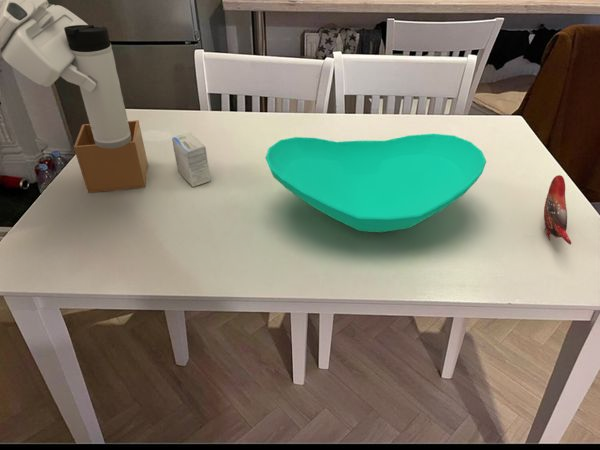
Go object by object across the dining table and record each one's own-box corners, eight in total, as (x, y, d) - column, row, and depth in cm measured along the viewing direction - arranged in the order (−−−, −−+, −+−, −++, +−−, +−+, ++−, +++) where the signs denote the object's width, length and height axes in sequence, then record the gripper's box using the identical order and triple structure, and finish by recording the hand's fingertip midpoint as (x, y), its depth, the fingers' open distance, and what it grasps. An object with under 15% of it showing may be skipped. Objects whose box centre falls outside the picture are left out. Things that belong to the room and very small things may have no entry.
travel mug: (86, 146, 82) (51, 27, 70) (110, 130, 87) (82, 17, 75) (116, 152, 80) (86, 32, 68) (138, 136, 85) (114, 21, 73)
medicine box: (211, 182, 100) (206, 146, 95) (191, 188, 98) (186, 151, 93) (195, 166, 105) (190, 131, 100) (177, 172, 103) (171, 136, 98)
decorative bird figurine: (548, 214, 92) (566, 170, 86) (566, 273, 78) (589, 226, 72) (533, 212, 92) (549, 168, 86) (548, 270, 79) (569, 223, 72)
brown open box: (88, 192, 96) (73, 147, 90) (95, 167, 105) (82, 124, 98) (145, 187, 98) (134, 142, 92) (147, 163, 107) (138, 120, 100)
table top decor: (269, 264, 79) (266, 200, 71) (266, 179, 101) (264, 123, 93) (494, 255, 82) (516, 192, 74) (444, 174, 104) (456, 118, 96)
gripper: (37, 14, 80) (108, 70, 86) (-23, 51, 64) (70, 118, 70) (56, -15, 77) (127, 46, 84) (-1, 17, 61) (93, 89, 68)
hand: (101, 79), depth 77 cm, fingers closed on travel mug, 6 cm apart
